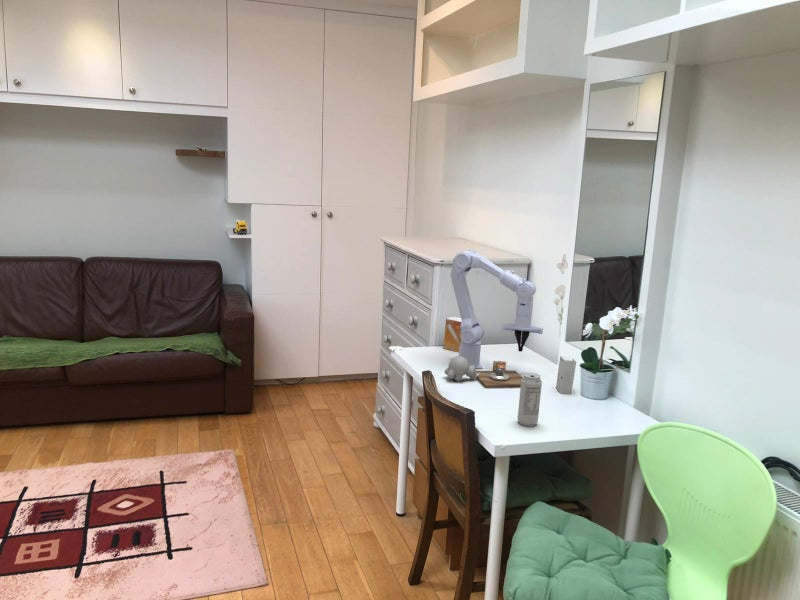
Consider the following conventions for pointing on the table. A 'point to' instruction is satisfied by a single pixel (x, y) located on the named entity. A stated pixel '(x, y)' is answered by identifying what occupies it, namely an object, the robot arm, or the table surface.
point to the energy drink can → (529, 399)
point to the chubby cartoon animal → (460, 369)
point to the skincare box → (566, 374)
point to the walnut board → (488, 382)
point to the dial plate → (493, 375)
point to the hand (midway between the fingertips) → (520, 350)
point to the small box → (452, 334)
